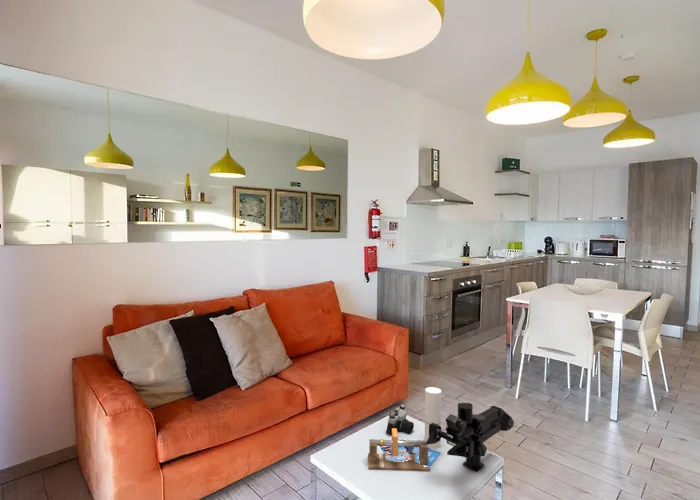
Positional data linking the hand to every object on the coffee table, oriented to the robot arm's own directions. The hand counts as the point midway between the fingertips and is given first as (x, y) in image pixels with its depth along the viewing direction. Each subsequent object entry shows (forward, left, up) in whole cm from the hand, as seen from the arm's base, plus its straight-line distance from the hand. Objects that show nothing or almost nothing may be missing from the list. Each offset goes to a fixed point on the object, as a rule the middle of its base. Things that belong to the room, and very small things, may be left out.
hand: (437, 448), depth 142 cm
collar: (-2, -22, -12) cm, 25 cm away
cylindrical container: (-26, -20, -17) cm, 37 cm away
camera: (-25, -37, -17) cm, 48 cm away
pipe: (-3, -21, -9) cm, 23 cm away
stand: (-3, -21, -17) cm, 27 cm away
